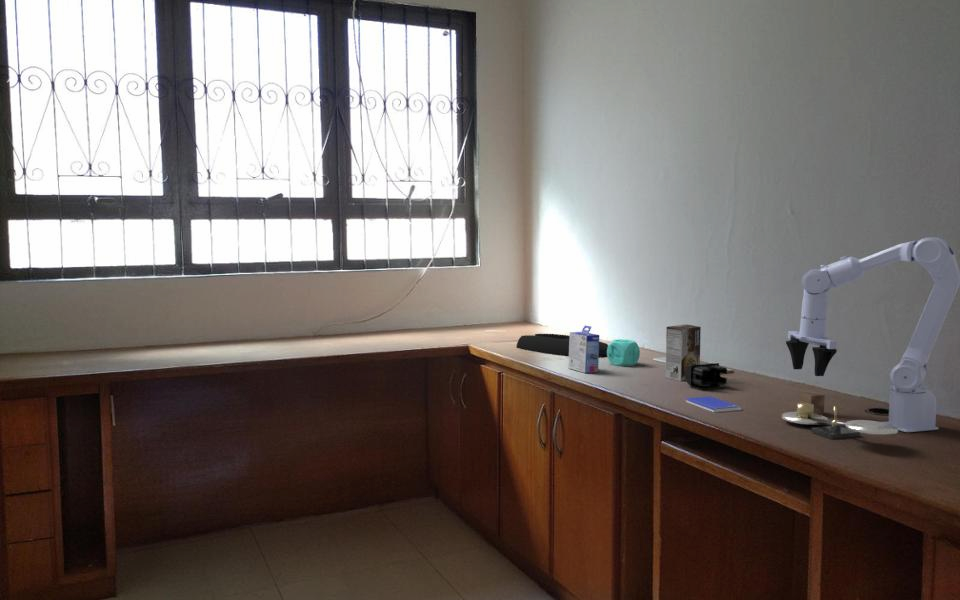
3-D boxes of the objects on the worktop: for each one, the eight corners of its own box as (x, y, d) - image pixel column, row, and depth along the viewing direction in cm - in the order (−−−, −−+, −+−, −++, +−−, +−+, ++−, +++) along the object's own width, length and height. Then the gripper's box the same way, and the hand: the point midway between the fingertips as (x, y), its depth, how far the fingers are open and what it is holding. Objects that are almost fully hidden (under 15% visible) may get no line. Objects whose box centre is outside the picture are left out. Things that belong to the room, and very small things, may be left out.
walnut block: (812, 411, 193) (813, 391, 192) (823, 414, 189) (824, 394, 188) (799, 412, 191) (800, 392, 191) (810, 415, 188) (811, 395, 187)
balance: (806, 417, 186) (808, 391, 185) (908, 450, 158) (910, 420, 157) (772, 419, 183) (773, 393, 182) (869, 454, 155) (871, 424, 154)
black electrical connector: (711, 384, 226) (712, 361, 226) (727, 388, 220) (728, 365, 219) (684, 386, 223) (684, 363, 222) (699, 391, 216) (700, 367, 216)
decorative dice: (624, 367, 253) (625, 343, 252) (606, 363, 259) (606, 340, 259) (639, 364, 258) (640, 341, 257) (621, 361, 264) (622, 338, 264)
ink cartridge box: (599, 372, 244) (600, 327, 242) (585, 373, 241) (586, 328, 240) (581, 367, 252) (582, 324, 251) (567, 368, 250) (568, 325, 248)
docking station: (586, 361, 266) (586, 347, 266) (505, 348, 296) (505, 335, 295) (629, 354, 283) (630, 340, 282) (549, 342, 313) (549, 329, 312)
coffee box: (683, 374, 240) (684, 324, 239) (700, 378, 235) (701, 326, 234) (664, 378, 235) (665, 326, 233) (681, 381, 230) (682, 328, 228)
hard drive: (741, 406, 193) (712, 396, 205) (713, 408, 191) (685, 398, 202) (741, 412, 193) (712, 401, 205) (713, 414, 191) (685, 403, 202)
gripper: (780, 313, 193) (775, 366, 194) (821, 322, 179) (816, 379, 181) (802, 313, 195) (797, 365, 196) (845, 322, 181) (840, 378, 183)
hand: (808, 372), depth 189 cm, fingers open, 7 cm apart
